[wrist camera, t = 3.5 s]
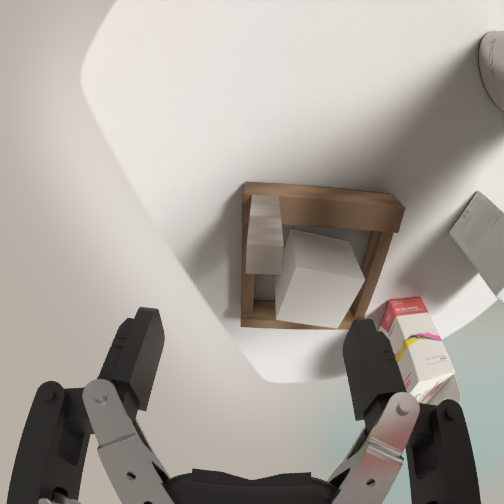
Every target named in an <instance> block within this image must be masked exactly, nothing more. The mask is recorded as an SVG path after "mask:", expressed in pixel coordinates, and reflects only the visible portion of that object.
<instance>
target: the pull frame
mask: <svg viewBox="0 0 504 504" xmlns="http://www.w3.org/2000/svg"><path fill="white" fill-rule="evenodd" d="M404 210H405V207H404V206H403V205H402V204H401V203H400V202H399V201H398V200H397V199H396V197H395V196H394V195H391V194H383V193H375V192H367V191H359V190H349V189H340V188H330V187H318V186H306V185H293V184H278V183H259V182H245V185H244V190H243V205H242V222H243V236H242V297H241V327H253V328H275V329H337V328H329V327H321V326H314V325H307V324H300V323H293V322H287V321H280V320H276V307H275V302H262V301H254V283H255V274H265V275H281V266H282V258H283V249H284V243H283V233H282V224H283V225H300V226H315V227H330V228H344V229H358V230H370V231H372V235H371V239H370V242H369V246H368V250H367V253H366V257H365V260H364V263H363V267H362V270H361V271H362V273H363V276H364V278H365V281H364V283H363V285H362V287H361V289H360V291H359V292H358V294H357V296H356V298H355V299H354V301H353V303H352V305H351V307H350V308H349V310H348V312H347V313H346V315H345V317H344V319H343V320H342V322H341V324H340V325H339V327H338V329H350V327H351V324H352V322H353V320H355V319H365V317H364V316H365V313H366V311H367V308H368V306H369V303H370V301H371V298H372V295H373V293H374V290H375V287H376V284H377V282H378V279H379V276H380V273H381V270H382V267H383V264H384V261H385V258H386V255H387V252H388V249H389V246H390V243H391V239H392V236H393V233H398V231H399V228H400V225H401V221H402V218H403V214H404Z"/></svg>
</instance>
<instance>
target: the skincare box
mask: <svg viewBox="0 0 504 504" xmlns="http://www.w3.org/2000/svg"><path fill="white" fill-rule="evenodd" d="M449 235H450V236H451V237H452V238H453V240H454V241H455V242H456V243H457V245H458V246H459V247H460V248H461V250H462V251H463V252H464V254H465V255H466V256H467V257H468V259H469V260H470V261H471V263H472V264H473V266H474V267H475V268H476V270H477V271H478V272H479V274H480V275H481V277H482V278H483V279H484V281H485V282H486V284H487V285H488V286H489V288H490V289H491V291H492V292H493V293H494V295H495V296H496V297H497V298H498V299H499V300H500V301H502V302H503V303H504V213H503V212H502V211H501V210H500V209H499V208H498V207H497V206H496V205H494V204H493V203H492V202H491V201H490V200H489V199H488V198H487V197H486V196H484V195H483V194H482V193H481V192H480V191H477V193H476V194H475V196H474V197H473V199H472V200H471V202H470V203H469V205H468V206H467V207H466V209H465V210H464V212H463V213H462V215H461V216H460V217H459V219H458V220H457V222H456V223H455V224H454V226H453V227H452V228H451V230H450V231H449Z"/></svg>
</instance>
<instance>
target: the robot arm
mask: <svg viewBox="0 0 504 504" xmlns="http://www.w3.org/2000/svg"><path fill="white" fill-rule="evenodd" d="M479 66H480V72H481V76H482V79H483V83H484V85H485V87H486V90H487V92H488V94H489V96H490V97H491V99H492V100H493V102H494V103H495V104H496V106H498V107H499V108H500V109H501V110H502V111H504V31H492V32H489V33H487V34H486V35H485V36H484V38H483V39H482V41H481V44H480V48H479ZM164 338H165V337H164V330H163V326H162V322H161V318H160V314H159V310H158V309H154V308H145V307H140V308H139V309H138V311H137V313H136V316H135V318H134V319H131V318H127V319H126V320H125V321H124V322H123V323H122V324H121V326H119V329H118V331H117V333H116V335H115V338H114V340H113V343H112V346H111V347H110V349H109V352H108V354H107V357H106V359H105V362H104V364H103V367H102V369H101V372H100V374H99V376H98V378H97V379H96V380H93V381H91V382H90V383H88V384H87V385H86V387H84V388H70V389H64V388H63V387H62V386H61V385H60V384H59V383H57V382H55V381H48V382H45V383H43V384H42V385H41V386H40V387H39V388H38V390H37V392H36V395H35V398H34V400H33V403H32V406H31V409H30V412H29V415H28V418H27V421H26V424H25V427H24V430H23V433H22V437H21V440H20V444H19V448H18V451H17V455H16V459H15V463H14V467H13V472H12V476H11V481H10V486H9V492H8V498H7V504H81V503H80V502H78V496H79V490H80V484H81V477H82V472H83V467H84V462H85V457H86V452H87V447H88V443H89V438H90V434H95V435H96V438H97V441H98V443H99V447H98V448H97V450H98V454H99V457H100V459H101V462H102V464H103V466H104V468H105V470H106V472H107V475H108V477H109V479H110V481H111V483H112V485H113V487H114V489H115V491H116V493H117V495H118V497H119V498H120V500H121V502H122V504H382V502H383V500H384V499H385V497H386V495H387V494H388V492H389V490H390V488H391V486H392V484H393V482H394V481H395V479H396V477H397V475H398V473H399V471H400V469H401V467H402V465H403V461H404V459H403V458H402V453H403V451H404V448H405V447H406V454H407V460H408V469H409V477H410V486H411V498H412V504H481V501H480V492H479V485H478V478H477V472H476V466H475V461H474V456H473V451H472V446H471V442H470V438H469V434H468V429H467V426H466V422H465V418H464V415H463V411H462V408H461V406H460V405H459V404H458V403H457V402H456V401H454V400H451V399H446V400H443V401H442V402H441V403H440V404H438V405H430V404H424V403H419V402H418V401H417V399H416V398H415V397H414V396H413V395H411V394H409V393H407V391H406V388H405V385H404V382H403V379H402V375H401V372H400V369H399V366H398V363H397V361H396V357H395V354H394V352H393V349H392V346H391V343H390V340H389V339H388V338H387V337H386V335H385V334H384V333H383V332H382V331H376V328H375V325H374V322H373V320H371V319H355V320H353V322H352V324H351V327H350V329H349V332H348V334H347V336H346V339H345V341H344V344H343V357H344V362H345V367H346V371H347V376H348V381H349V386H350V391H351V396H352V401H353V407H354V413H355V419H356V421H357V420H365V427H364V428H363V430H362V431H361V433H360V435H359V437H358V438H357V440H356V442H355V443H354V445H353V446H352V448H351V450H350V451H349V453H348V454H347V456H346V458H345V459H344V461H343V462H342V463H341V464H340V465H339V467H338V468H337V469H336V470H335V471H334V473H333V474H332V475H331V476H330V478H329V479H328V481H327V482H326V481H324V480H321V479H318V478H314V477H311V472H309V473H289V474H279V475H275V476H271V477H266V478H262V479H257V480H248V479H245V478H241V477H237V476H234V475H230V474H227V473H224V472H219V471H209V470H200V469H193V470H192V473H187V474H182V475H178V476H175V477H173V478H170V476H169V475H168V473H167V472H166V470H165V469H164V467H163V465H162V464H161V462H160V461H159V459H158V458H157V457H156V455H155V453H154V452H153V450H152V448H151V446H150V445H149V443H148V441H147V439H146V437H145V435H144V433H143V431H142V430H141V427H140V426H139V423H138V421H137V419H136V415H137V411H138V410H143V411H146V409H147V405H148V402H149V398H150V394H151V390H152V386H153V382H154V379H155V375H156V371H157V368H158V364H159V361H160V357H161V353H162V350H163V346H164Z"/></svg>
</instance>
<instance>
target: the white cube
mask: <svg viewBox="0 0 504 504" xmlns="http://www.w3.org/2000/svg"><path fill="white" fill-rule="evenodd" d="M364 281H365V278H364V276H363V273H362V271H361V268H360V266H359V264H358V261H357V259H356V257H355V254H354V252H353V250H352V247H351V245H350V243H349V242H348V241H344V240H339V239H335V238H331V237H326V236H322V235H318V234H313V233H309V232H304V231H300V230H295V229H290V233H289V236H288V239H287V242H286V245H285V248H284V251H283V258H282V266H281V275H275V307H276V320H280V321H287V322H293V323H300V324H307V325H314V326H321V327H329V328H337V329H338V327H339V325H340V324H341V322H342V320H343V319H344V317H345V315H346V313H347V312H348V310H349V308H350V307H351V305H352V303H353V301H354V299H355V298H356V296H357V294H358V292H359V291H360V289H361V287H362V285H363V283H364Z"/></svg>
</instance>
